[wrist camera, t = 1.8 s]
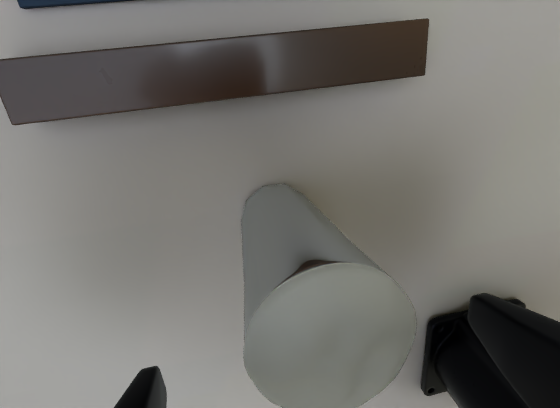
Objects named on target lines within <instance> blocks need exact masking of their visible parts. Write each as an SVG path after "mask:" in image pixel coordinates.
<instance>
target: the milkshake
mask: <svg viewBox="0 0 560 408" xmlns="http://www.w3.org/2000/svg"><path fill="white" fill-rule="evenodd" d="M241 234H242V257H243V277H244V348H243V359H244V365H245V368H246V371H247V373H248V375H249V376H250V378H251V380H252V381H253V382H254V384H255V385H256V387H257V388H258V390H259V391H260V392H261V393H262V394H263V395H264V396H265V397H266V398H267V399H268V400H269V401H271V402H272V403H274V404H276V405H278V406H281V407H284V408H355V407H358V406H360V405H362V404H364V403H365V402H367V401H368V400H370V399H371V398H373V397H374V396H376V395H377V394H378V393H380V392H381V391H382V390H383V389H384V388H386V387H387V386H388V385H389V384H390V383H391V382H392V381H393V380H394V379H395V377H396V376H397V375H398V373H399V371H400V370H401V368H402V366H403V364H404V362H405V360H406V358H407V356H408V353H409V351H410V349H411V347H412V344H413V341H414V338H415V335H416V314H415V310H414V307H413V305H412V303H411V301H410V299H409V298H408V296H407V295H406V294H405V292H404V291H403V290H402V288H401V287H400V286H399V285H398V284H397V283H396V282H395V281H394V280H393V279H392V278H391V277H390V276H389V275H388V274H387V273H386V272H385V271H383V270H382V269H381V268H380V267H379V266H378V265H377V264H376V263H375V262H373V261H372V260H371V259H370V258H369V257H368V256H367V255H366V254H365V253H364V252H362V251H361V250H360V249H359V248H358V247H357V246H356V245H355V244H354V243H352V242H351V241H350V240H349V239H348V238H347V237H346V236H345V235H344V234H343V233H342V232H341V231H340V230H339V229H338V228H337V227H336V226H335V225H334V224H333V223H332V222H331V221H330V220H329V219H328V218H327V217H326V216H325V215H324V214H323V213H322V212H321V211H320V210H319V209H318V208H317V207H316V206H315V205H314V204H313V203H312V202H311V201H310V200H309V199H308V198H307V197H306V196H305V195H304V194H302V193H301V192H299V191H297V190H295V189H293V188H292V187H290V186H288V185H286V184H276V185H268V186H262V187H261V188H260V189H259V190H258V191H256V192H255V193H254V194H253V195H252V196H251V197H249V198H248V199H247V200H246V202H245V207H244V211H243V215H242V219H241Z"/></svg>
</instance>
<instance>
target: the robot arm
mask: <svg viewBox="0 0 560 408" xmlns="http://www.w3.org/2000/svg"><path fill="white" fill-rule="evenodd" d="M525 307H526V306H525V304H524V303H523V302H521V301H520V300H518V299H513V300H509V301H505V300H503V299H500V298H498V297H495V296H493V295H490V294H487V293H482V294H477V295H474V296H472V297H471V299H470V304H469V310H466V311H462V312H458V313H453V314H449V315H445V316H440V317H436V318H433V319H432V320H431V321H430V322H429V323H428V327H427V336H426V346H425V355H424V364H423V374H422V383H421V389H422V391H423V392H424V394H425V395H426V396H431V395H435V394H438V393H442V392H446V391H448V393H449V394H450V396H451V397H452V398H453V400H454V401H455V402H456V404H457V405H458V407H459V408H560V322H558V321H556V320H553V319H551V318H548V317H546V316H543V315H541V314H538V313H536V312H533V311H530V310H528V309H525ZM166 402H167V394H166V387H165V384H164V381H163V378H162V375H161V372H160V369H159V368H158V366H153V367H148V368H144V369H142V370H141V371H140V372H139V373H138V374H137V376H136V377H135V378H134V380H133V381H132V383H131V384H130V386H129V387H128V388H127V390H126V391H125V393H124V394H123V395H122V397H121V398H120V400H119V401H118V403H117V404H116V405H115V407H114V408H166Z"/></svg>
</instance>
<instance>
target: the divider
mask: <svg viewBox="0 0 560 408" xmlns="http://www.w3.org/2000/svg"><path fill="white" fill-rule="evenodd" d="M428 27H429V19H428V18H426V19H416V20H405V21H395V22H385V23H374V24H364V25H353V26H343V27H332V28H322V29H311V30H301V31H290V32H280V33H270V34H259V35H249V36H238V37H228V38H217V39H207V40H196V41H186V42H175V43H165V44H154V45H144V46H134V47H123V48H113V49H102V50H92V51H81V52H71V53H60V54H50V55H39V56H29V57H19V58H8V59H0V97H1V99H2V102H3V104H4V107H5V109H6V111H7V114H8V116H9V119H10V121H11V123H12V125H21V124H29V123H38V122H46V121H54V120H62V119H71V118H79V117H87V116H95V115H103V114H112V113H120V112H128V111H136V110H145V109H153V108H161V107H169V106H178V105H186V104H194V103H202V102H210V101H219V100H227V99H235V98H243V97H252V96H260V95H268V94H276V93H285V92H293V91H301V90H309V89H317V88H326V87H334V86H342V85H350V84H359V83H367V82H375V81H383V80H392V79H400V78H408V77H416V76H423V75H425V68H426V54H427V41H428Z"/></svg>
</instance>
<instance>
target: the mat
mask: <svg viewBox="0 0 560 408" xmlns="http://www.w3.org/2000/svg"><path fill="white" fill-rule="evenodd" d="M17 1H18V4H19V7H20V8H24V9H29V8H41V7H54V6H67V5H80V4H93V3H106V2H119V1H132V0H17Z"/></svg>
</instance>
